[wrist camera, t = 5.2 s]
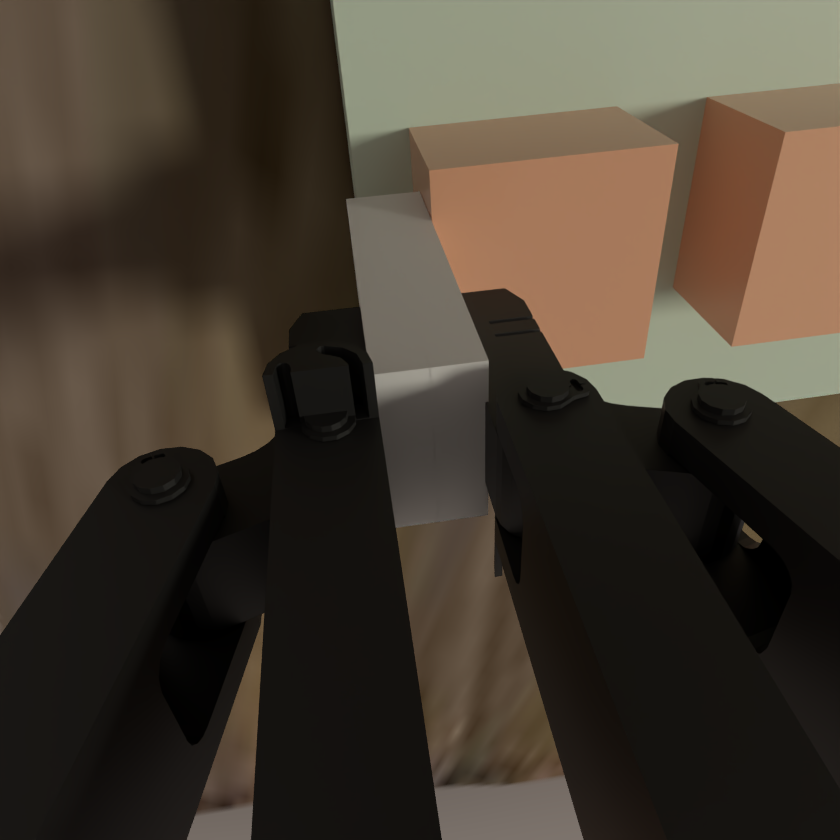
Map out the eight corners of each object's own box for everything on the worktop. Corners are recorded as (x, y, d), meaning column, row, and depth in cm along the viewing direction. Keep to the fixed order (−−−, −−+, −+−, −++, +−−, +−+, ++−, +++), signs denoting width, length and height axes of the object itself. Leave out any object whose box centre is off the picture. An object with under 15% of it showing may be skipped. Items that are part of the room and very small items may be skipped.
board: (314, -121, 14) (316, -131, 11) (1019, -176, 15) (1178, -196, 12) (377, 387, 22) (388, 454, 19) (839, 327, 23) (912, 383, 20)
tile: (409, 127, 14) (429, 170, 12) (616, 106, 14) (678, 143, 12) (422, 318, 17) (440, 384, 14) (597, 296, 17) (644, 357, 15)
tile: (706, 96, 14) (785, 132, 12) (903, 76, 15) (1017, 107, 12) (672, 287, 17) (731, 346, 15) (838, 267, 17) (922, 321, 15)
